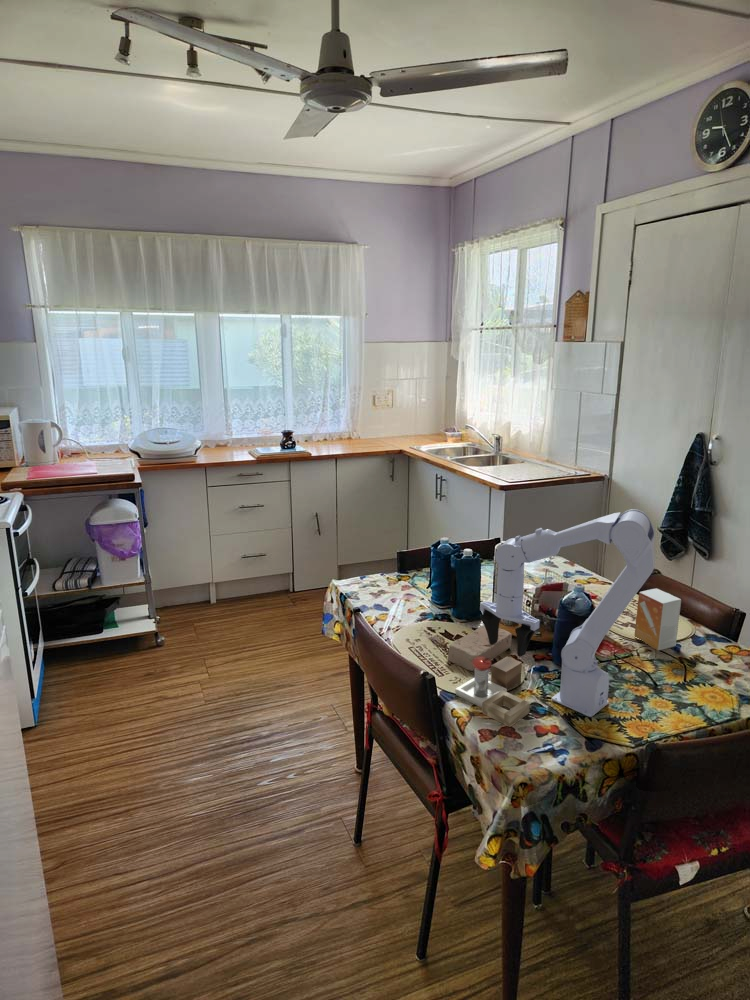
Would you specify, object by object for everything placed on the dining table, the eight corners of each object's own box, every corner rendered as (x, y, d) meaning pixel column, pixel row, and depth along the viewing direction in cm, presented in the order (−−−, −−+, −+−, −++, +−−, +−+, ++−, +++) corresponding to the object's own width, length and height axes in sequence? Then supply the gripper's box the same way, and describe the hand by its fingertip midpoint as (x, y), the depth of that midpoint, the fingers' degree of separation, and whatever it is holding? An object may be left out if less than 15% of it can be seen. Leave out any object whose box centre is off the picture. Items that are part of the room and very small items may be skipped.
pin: (493, 696, 141) (495, 663, 139) (478, 700, 139) (479, 667, 137) (483, 687, 144) (484, 655, 142) (468, 691, 143) (469, 658, 141)
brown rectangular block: (520, 682, 147) (521, 662, 146) (505, 691, 143) (506, 671, 142) (506, 675, 150) (507, 656, 149) (490, 685, 146) (491, 665, 145)
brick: (473, 673, 152) (474, 654, 151) (445, 660, 158) (446, 643, 157) (512, 649, 163) (513, 632, 162) (485, 638, 169) (485, 622, 168)
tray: (506, 694, 142) (506, 688, 142) (484, 709, 137) (484, 702, 136) (477, 681, 148) (477, 675, 147) (455, 694, 142) (455, 688, 142)
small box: (633, 637, 168) (638, 591, 165) (651, 633, 170) (656, 587, 167) (657, 651, 161) (663, 603, 157) (676, 646, 163) (682, 598, 160)
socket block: (529, 713, 135) (529, 702, 135) (509, 727, 130) (510, 716, 130) (501, 700, 140) (502, 689, 139) (482, 712, 135) (482, 702, 135)
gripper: (548, 597, 139) (545, 654, 142) (493, 579, 149) (491, 632, 152) (530, 606, 134) (527, 665, 138) (475, 587, 144) (473, 642, 148)
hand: (507, 648), depth 145 cm, fingers open, 7 cm apart
